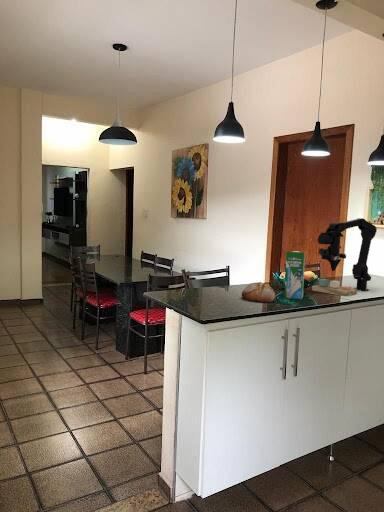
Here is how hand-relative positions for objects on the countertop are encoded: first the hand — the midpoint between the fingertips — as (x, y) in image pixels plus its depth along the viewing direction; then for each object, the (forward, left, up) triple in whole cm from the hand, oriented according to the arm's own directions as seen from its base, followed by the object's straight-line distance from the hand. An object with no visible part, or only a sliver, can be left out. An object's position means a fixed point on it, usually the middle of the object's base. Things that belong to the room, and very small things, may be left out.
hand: (333, 271), depth 238 cm
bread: (+52, -12, -13) cm, 55 cm away
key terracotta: (0, +8, -12) cm, 14 cm away
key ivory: (0, +1, -9) cm, 9 cm away
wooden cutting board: (0, +1, -12) cm, 12 cm away
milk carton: (+33, -4, -12) cm, 35 cm away
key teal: (0, -6, -9) cm, 11 cm away
